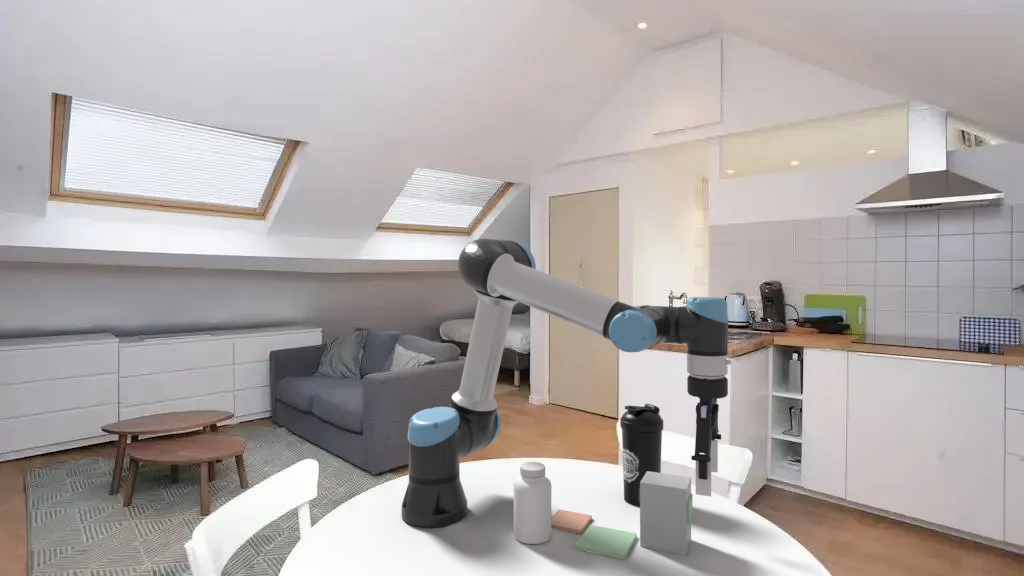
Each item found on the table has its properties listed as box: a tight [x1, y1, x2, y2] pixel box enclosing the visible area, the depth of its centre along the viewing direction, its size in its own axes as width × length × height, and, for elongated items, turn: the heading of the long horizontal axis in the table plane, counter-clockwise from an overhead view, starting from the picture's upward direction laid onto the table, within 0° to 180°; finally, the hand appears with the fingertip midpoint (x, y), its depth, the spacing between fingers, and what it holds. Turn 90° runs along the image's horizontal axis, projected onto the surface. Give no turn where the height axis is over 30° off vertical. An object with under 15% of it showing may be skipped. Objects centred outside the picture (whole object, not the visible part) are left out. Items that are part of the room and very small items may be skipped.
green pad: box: [575, 523, 638, 560], centre depth 113 cm, size 10×10×1 cm
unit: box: [639, 471, 694, 556], centre depth 113 cm, size 10×7×13 cm
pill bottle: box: [513, 461, 552, 545], centre depth 116 cm, size 8×8×15 cm
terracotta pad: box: [551, 509, 593, 535], centre depth 122 cm, size 8×8×1 cm
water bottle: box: [619, 403, 664, 508], centre depth 134 cm, size 10×10×23 cm
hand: (707, 482), depth 109 cm, fingers open, 13 cm apart
